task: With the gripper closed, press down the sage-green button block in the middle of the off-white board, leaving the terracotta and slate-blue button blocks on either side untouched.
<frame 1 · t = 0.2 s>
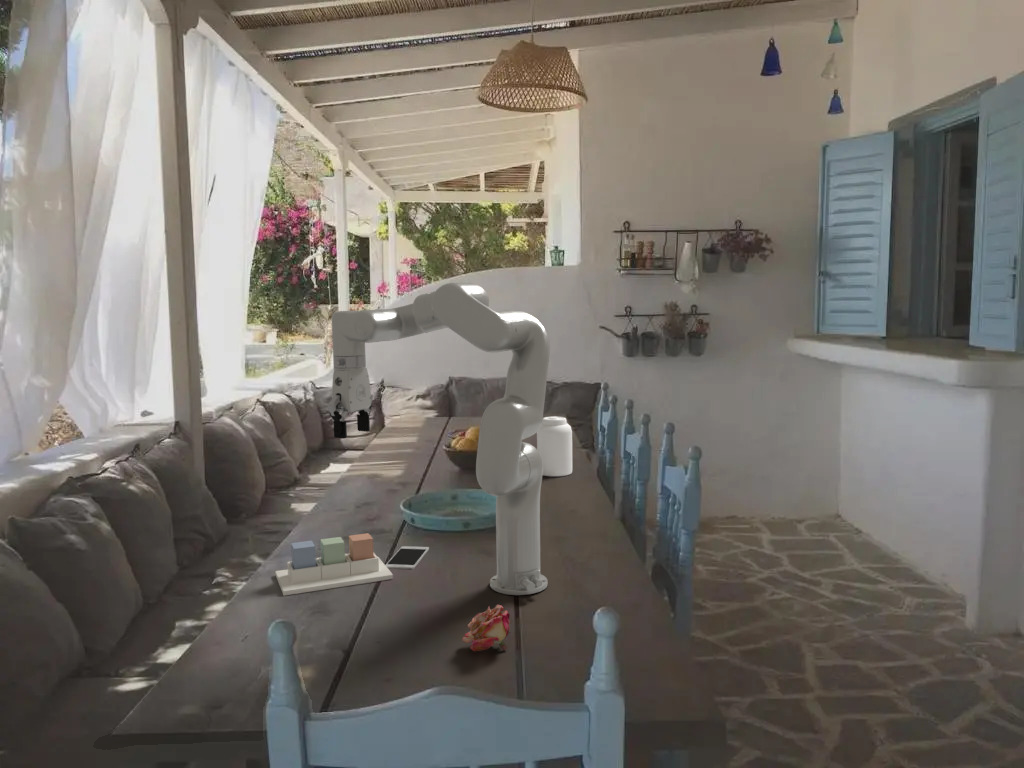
hand: (352, 434, 194), 31 cm above the table, tool pointing down, fingers open, 9 cm apart
smartphone: (407, 560, 198), on the table
terracotta button: (361, 547, 187), point 6 cm above the table, slide at 0.0 cm
flower: (486, 650, 146), on the table
board: (333, 577, 185), on the table
white jar: (554, 473, 288), on the table
sage button: (332, 551, 184), point 6 cm above the table, slide at 0.0 cm
slate button: (303, 555, 182), point 6 cm above the table, slide at 0.0 cm
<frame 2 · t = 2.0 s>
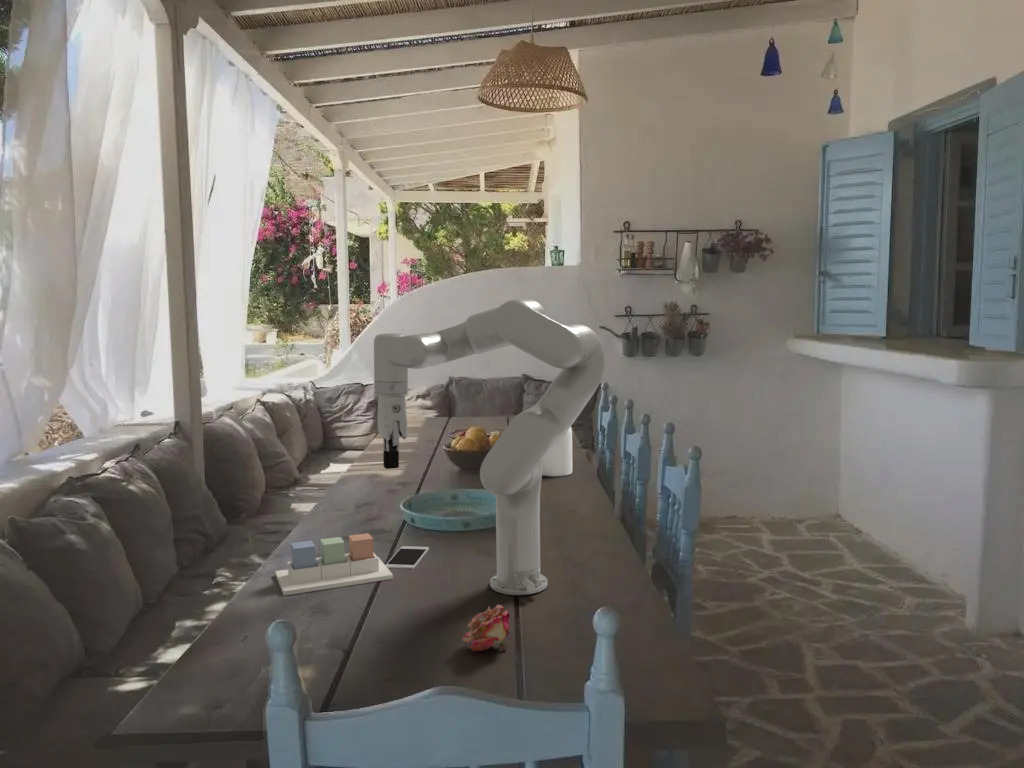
hand: (391, 467, 186), 24 cm above the table, tool pointing down, fingers closed
nothing on the table moved.
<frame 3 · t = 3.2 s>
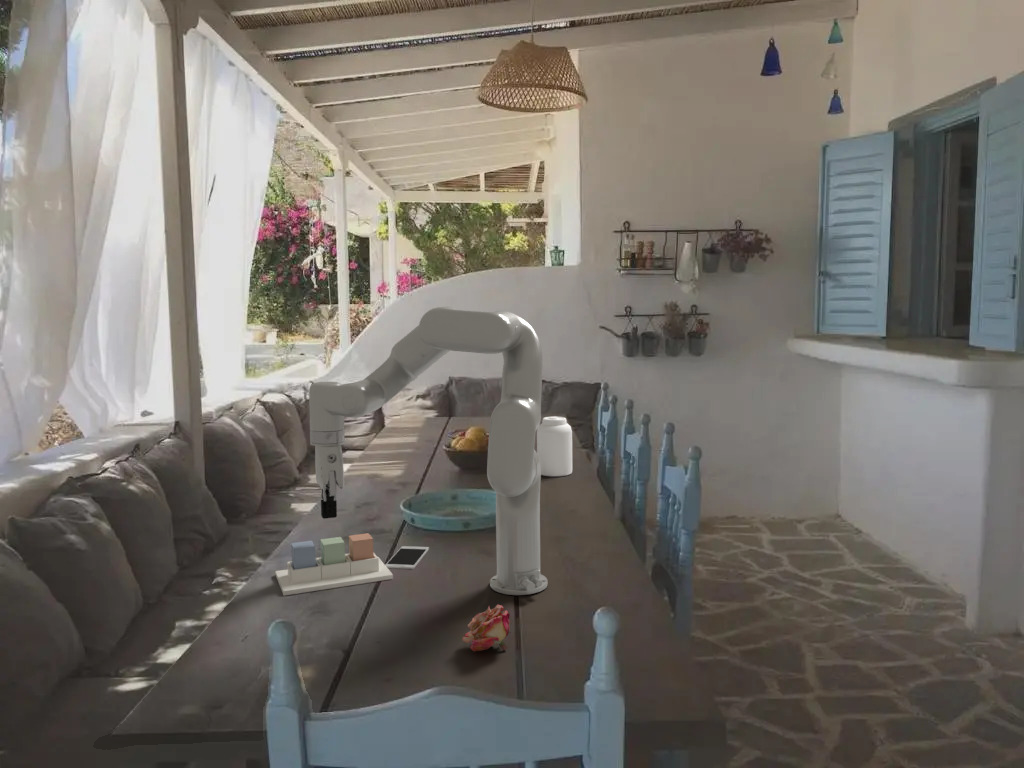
hand: (329, 517, 184), 14 cm above the table, tool pointing down, fingers closed
nothing on the table moved.
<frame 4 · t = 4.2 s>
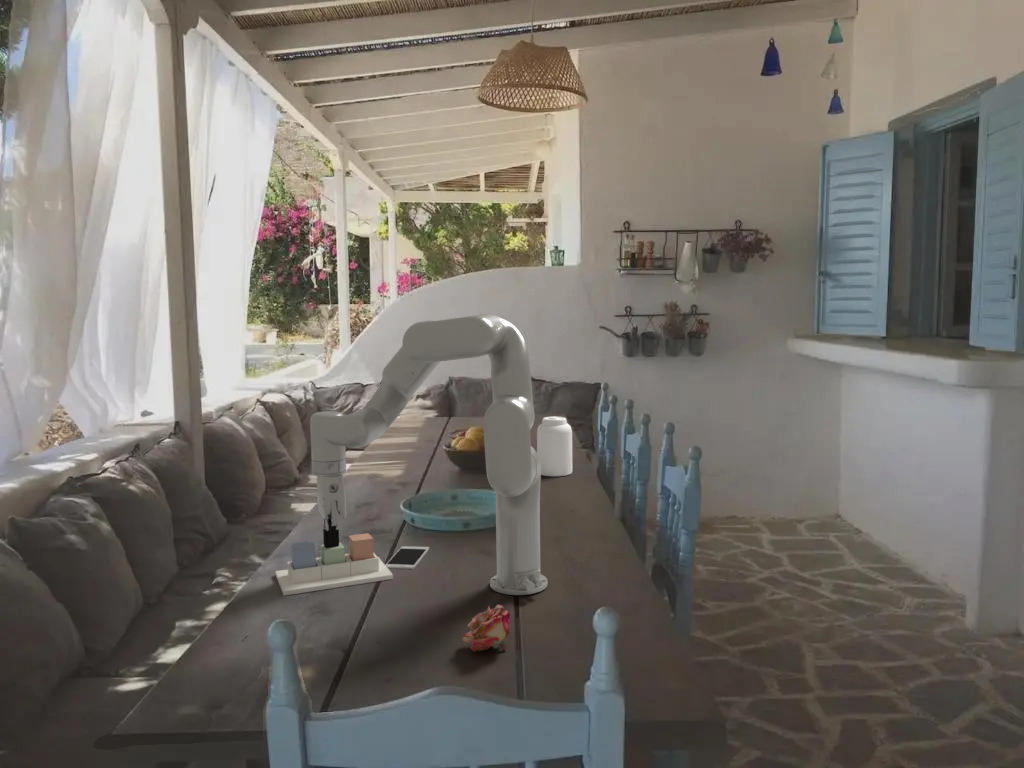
hand: (331, 546, 184), 7 cm above the table, tool pointing down, fingers closed
sage button: (332, 556, 184), point 5 cm above the table, slide at 1.3 cm, touching gripper
everything else where it was.
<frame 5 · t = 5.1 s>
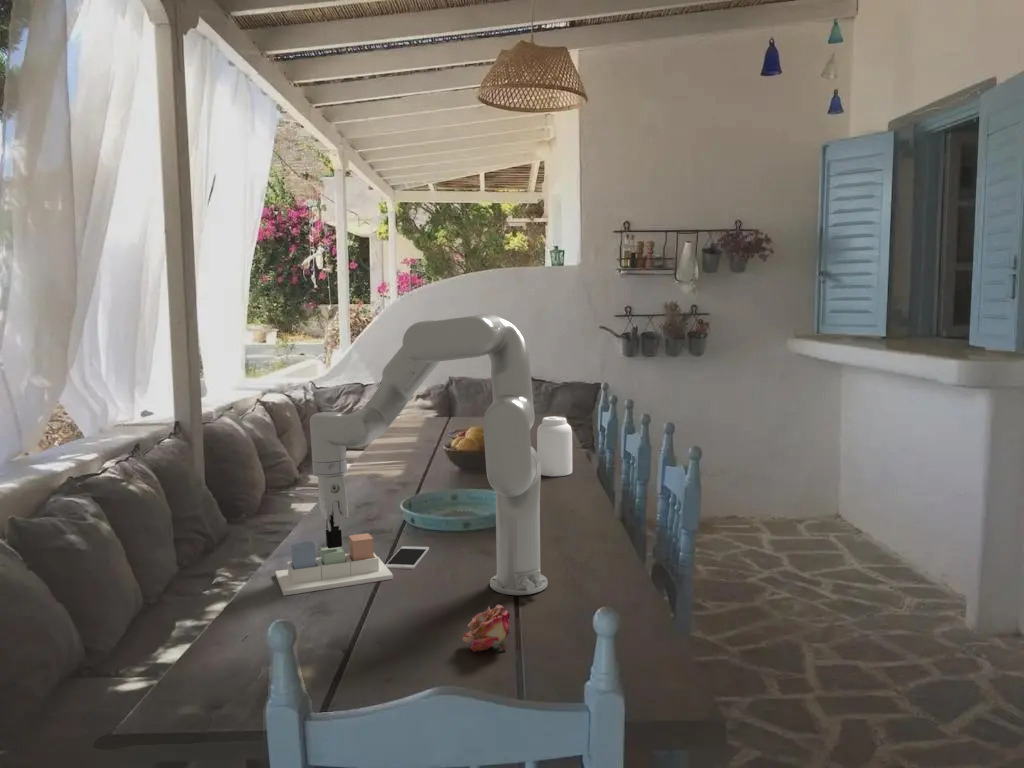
hand: (334, 546, 184), 7 cm above the table, tool pointing down, fingers closed
sage button: (333, 560, 185), point 4 cm above the table, slide at 2.1 cm
everything else where it was.
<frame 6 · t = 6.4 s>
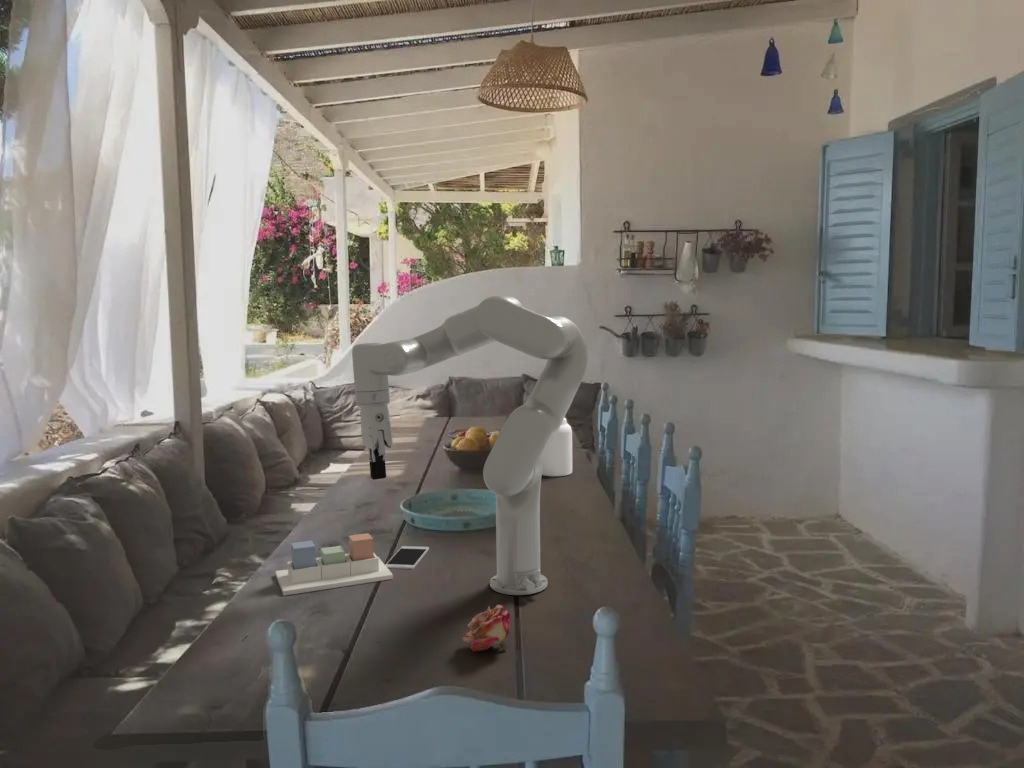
hand: (378, 478, 184), 22 cm above the table, tool pointing down, fingers closed
nothing on the table moved.
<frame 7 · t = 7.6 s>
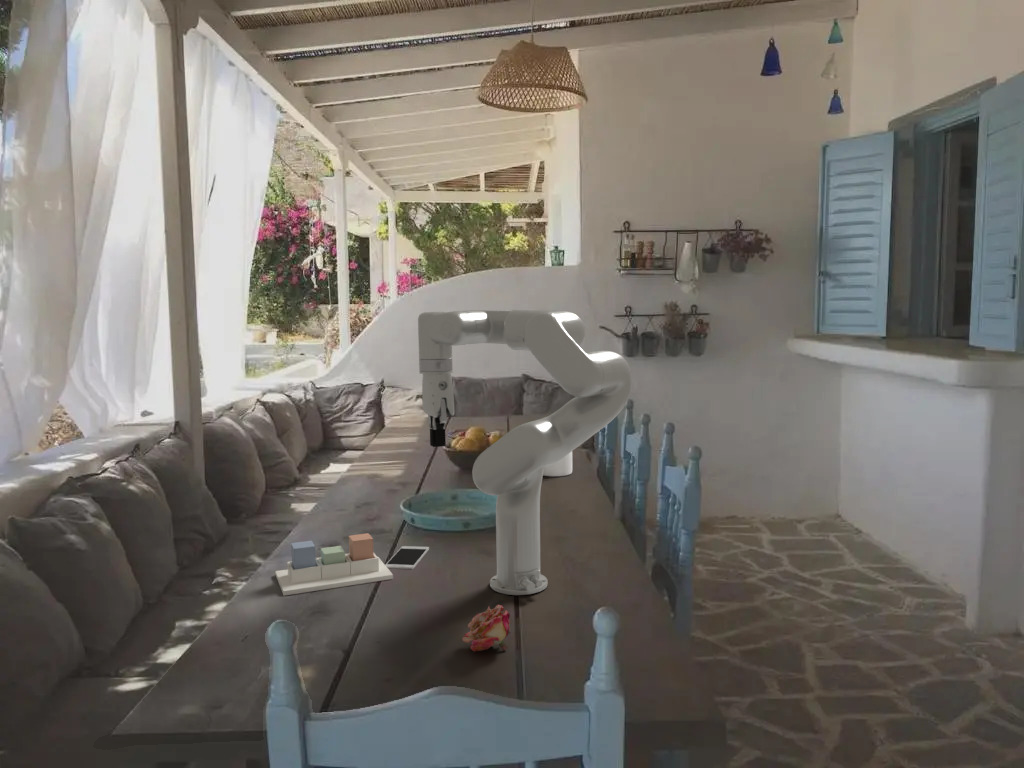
hand: (437, 445, 186), 29 cm above the table, tool pointing down, fingers closed
nothing on the table moved.
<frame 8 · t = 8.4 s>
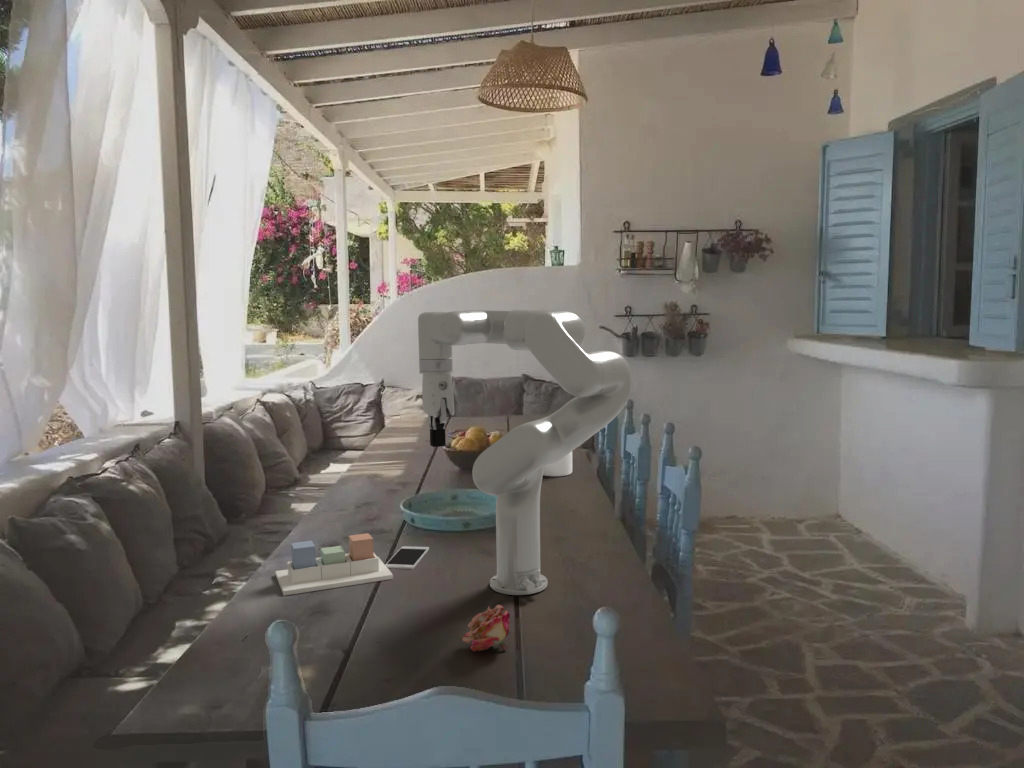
hand: (437, 445, 186), 29 cm above the table, tool pointing down, fingers closed
nothing on the table moved.
at the end: sage button slide at 2.1 cm; terracotta button slide at 0.0 cm; slate button slide at 0.0 cm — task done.
